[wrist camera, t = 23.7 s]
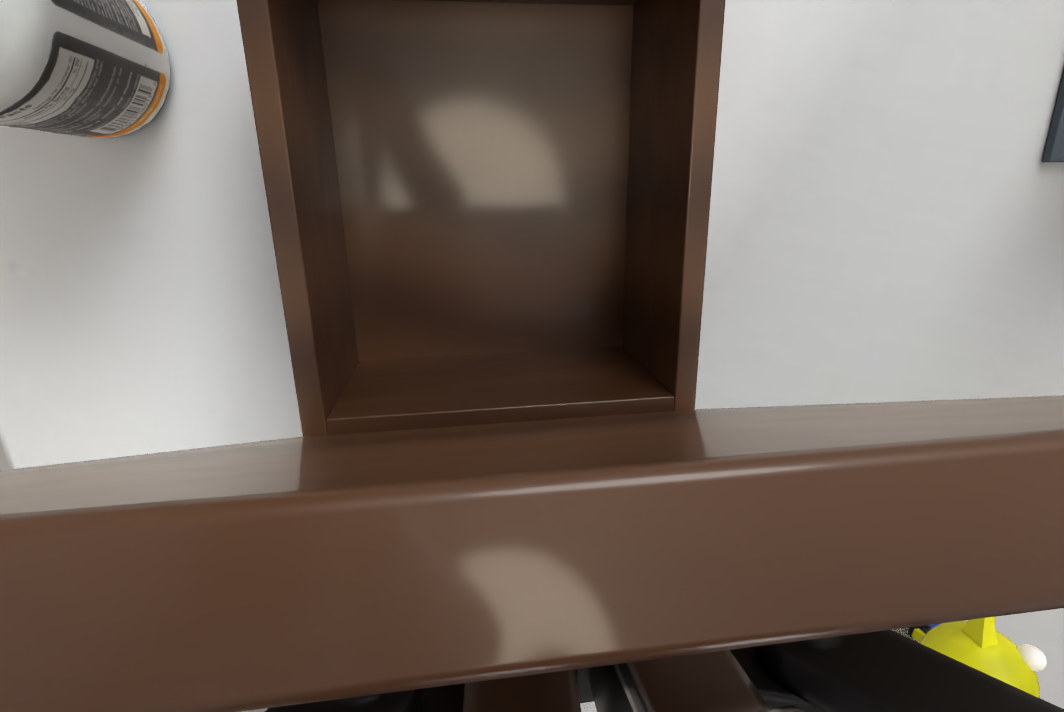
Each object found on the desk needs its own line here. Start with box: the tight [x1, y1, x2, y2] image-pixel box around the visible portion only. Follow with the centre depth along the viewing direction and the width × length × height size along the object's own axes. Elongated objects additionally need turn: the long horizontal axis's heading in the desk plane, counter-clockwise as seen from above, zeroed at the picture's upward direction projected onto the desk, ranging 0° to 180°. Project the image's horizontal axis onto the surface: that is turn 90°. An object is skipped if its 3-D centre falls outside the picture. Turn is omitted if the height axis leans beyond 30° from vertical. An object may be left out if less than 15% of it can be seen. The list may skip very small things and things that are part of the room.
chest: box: [237, 0, 725, 437], centre depth 20 cm, size 16×14×7 cm
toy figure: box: [908, 617, 1047, 698], centre depth 31 cm, size 18×6×7 cm, turn 8°
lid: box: [0, 396, 1064, 712], centre depth 10 cm, size 16×14×1 cm
